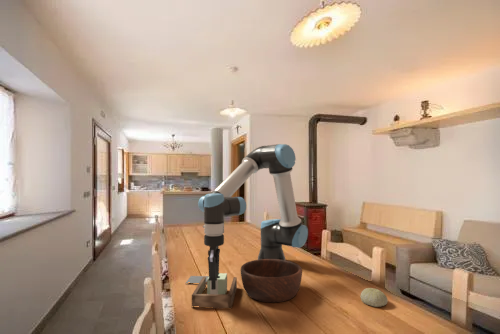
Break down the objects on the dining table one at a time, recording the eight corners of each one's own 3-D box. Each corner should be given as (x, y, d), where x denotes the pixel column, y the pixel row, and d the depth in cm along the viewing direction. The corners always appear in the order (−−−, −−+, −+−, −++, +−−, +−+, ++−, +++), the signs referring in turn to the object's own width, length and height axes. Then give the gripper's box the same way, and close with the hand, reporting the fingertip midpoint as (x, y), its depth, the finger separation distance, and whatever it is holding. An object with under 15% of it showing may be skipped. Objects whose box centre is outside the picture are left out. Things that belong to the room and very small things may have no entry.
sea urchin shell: (376, 306, 101) (363, 284, 106) (364, 315, 106) (353, 293, 111) (395, 301, 104) (382, 280, 110) (382, 310, 109) (370, 290, 115)
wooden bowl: (242, 281, 130) (242, 258, 131) (297, 281, 130) (297, 258, 130) (238, 306, 105) (238, 277, 106) (307, 306, 105) (306, 278, 105)
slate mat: (209, 277, 136) (209, 276, 136) (205, 284, 127) (205, 283, 127) (190, 277, 136) (190, 275, 136) (185, 284, 127) (185, 283, 127)
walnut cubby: (236, 287, 123) (236, 277, 123) (231, 308, 103) (231, 295, 103) (203, 287, 123) (203, 276, 123) (191, 307, 104) (191, 295, 104)
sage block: (227, 290, 120) (227, 273, 120) (224, 297, 113) (224, 279, 113) (210, 290, 121) (210, 273, 121) (207, 297, 114) (207, 279, 114)
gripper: (207, 230, 117) (207, 289, 116) (200, 237, 104) (200, 304, 103) (226, 231, 117) (226, 290, 116) (221, 237, 104) (221, 304, 103)
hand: (214, 296), depth 109 cm, fingers closed
